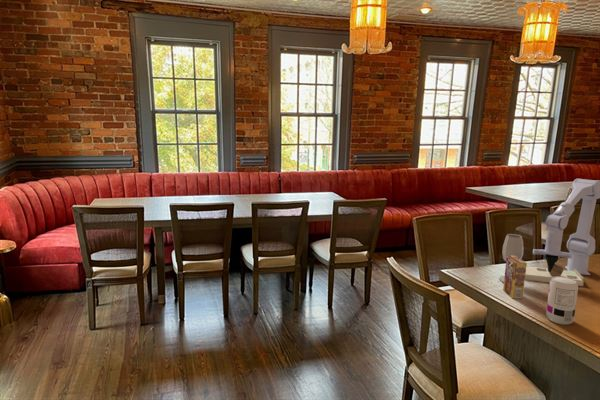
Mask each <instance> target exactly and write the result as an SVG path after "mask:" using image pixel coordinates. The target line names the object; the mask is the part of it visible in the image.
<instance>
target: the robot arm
mask: <svg viewBox="0 0 600 400" xmlns="http://www.w3.org/2000/svg"><path fill="white" fill-rule="evenodd" d="M581 199H582V203H581V208H580V213H579V217H578V222H577V227H576V232H573V233H572V234H570V235H569V238H568V240H567V241H566V248H567V250H568V252H566V251H561V249H562V248H561V247H562V241H563V234H564V230H565V228H567V226H568V223H569V220H570V219H569V218H570V217H571V216H572V214H573V213H574V212H575V210H576V209H575V206H576V205H577V203H579V201H580V200H581ZM598 199H600V180H598V179H597V180H593V179H586V178H584V179H583V178H576V179H574V180H573V182H572V185H571V192H570V194H569V196H568V197H567V198H566V201H562V202H561V203H560V204H559V206H558V207H557V208H556V209H555V211H554V212H553V213H551V214H549V215H548V216H547V217H546V220H545V226H546V229H545V230H546V231H547V233H546V239H545V244H544V245H545V246H544V249H541V248H540V249H538V248H537V249H536V248H533V249H532V255H540V256H541V255H542V256H544V258H545V261H546V264H547V268H548V272H551V270H552V267H553V266H554V264H557V262H558V260H559V258H567V265H565V266H564V268H565V270H568V271H574V269H576V270H577V271H578V272H579V274H580V275H586V276H591V273H590V272H589V271H588V266H589V259H590V256H591V255H593V254H594V253H595V251H596V239H595V238H594V237H593V236H592V235H591V233H590V232H591V228H592V223H593V218H594V213H595V210H596V209H595V208H596V205H597V204H596V203H597V200H598Z"/></svg>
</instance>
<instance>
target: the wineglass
mask: <svg viewBox="0 0 600 400" xmlns="http://www.w3.org/2000/svg"><path fill="white" fill-rule="evenodd" d="M524 248H525V247H524V239H523V236H522V235H520V234H514V233H507V234H506V236H505V239H504V242H503V245H502V252H501V253H502V259H503V260H504V261H505V262H506V259H507V256H517V257H519V258H520V259H522V258H523V256H524V250H525V249H524ZM522 260H523V259H522ZM504 277H505V275H502V276H500V277H498V280H499V281H500V282H501V283H503V284H504Z"/></svg>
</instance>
